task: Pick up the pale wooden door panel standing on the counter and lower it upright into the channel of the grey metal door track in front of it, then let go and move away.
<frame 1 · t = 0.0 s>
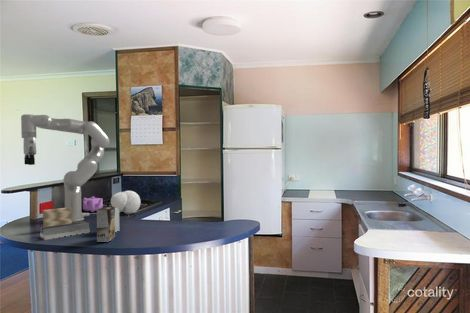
hand: (29, 164, 198), 37 cm above the countertop, tool pointing down, fingers open, 9 cm apart
coffee box: (106, 240, 166), on the countertop
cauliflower: (126, 214, 234), on the countertop
door panel: (57, 230, 188), on the countertop
door track: (65, 234, 178), on the countertop
supplement box: (110, 232, 182), on the countertop
purple lumpy block: (93, 211, 246), on the countertop
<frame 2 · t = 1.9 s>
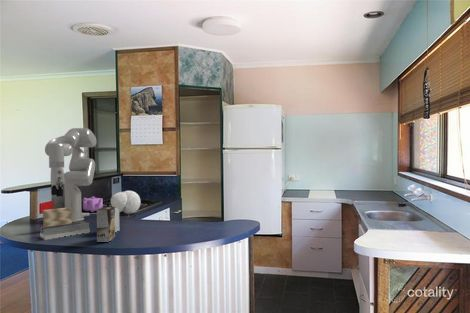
hand: (57, 195, 187), 20 cm above the countertop, tool pointing down, fingers open, 9 cm apart
nothing on the countertop moved.
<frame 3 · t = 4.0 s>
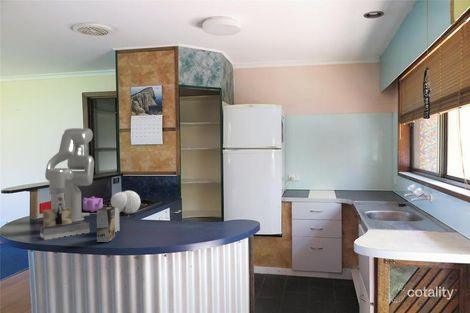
hand: (57, 223, 188), 4 cm above the countertop, tool pointing down, fingers closed on door panel, 3 cm apart
door panel: (57, 230, 188), on the countertop, touching gripper
everything else where it was.
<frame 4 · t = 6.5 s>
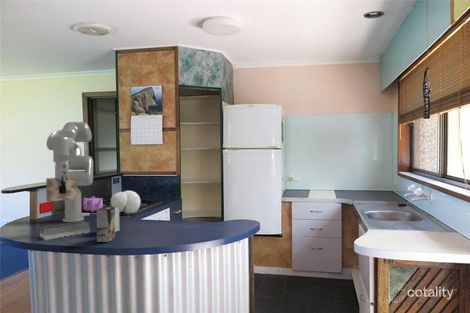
hand: (61, 192, 181), 22 cm above the countertop, tool pointing down, fingers closed on door panel, 3 cm apart
door panel: (61, 199, 181), point 18 cm above the countertop, touching gripper
everything else where it was.
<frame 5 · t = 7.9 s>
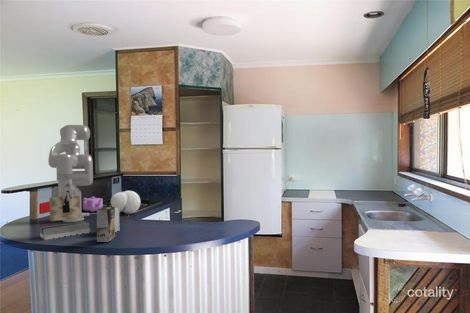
hand: (65, 211, 177), 12 cm above the countertop, tool pointing down, fingers closed on door panel, 3 cm apart
door panel: (65, 219, 177), point 8 cm above the countertop, touching gripper
everything else where it was.
when the fingers open (7 cm above the countertop, at t = 9.2 s): door panel drops 1 cm, resting on door track.
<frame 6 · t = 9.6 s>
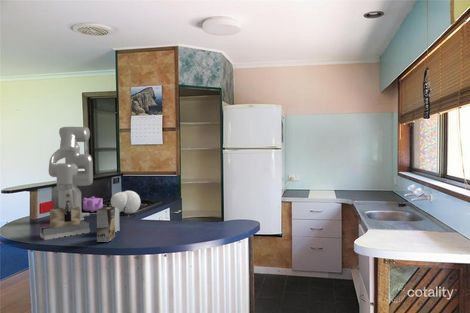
hand: (65, 220, 178), 8 cm above the countertop, tool pointing down, fingers open, 7 cm apart
door panel: (65, 230, 178), point 2 cm above the countertop, touching door track
everything else where it was.
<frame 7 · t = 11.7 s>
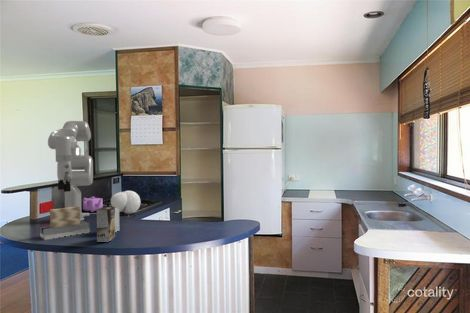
hand: (64, 190, 181), 23 cm above the countertop, tool pointing down, fingers open, 9 cm apart
nothing on the countertop moved.
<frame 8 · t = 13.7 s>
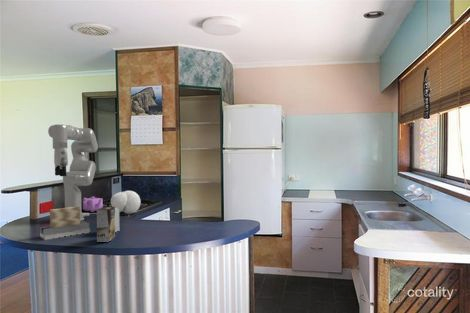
hand: (60, 175, 193), 30 cm above the countertop, tool pointing down, fingers open, 9 cm apart
nothing on the countertop moved.
at the end: door panel inside the target area on the door track (0.2 cm from its centre), point 2.0 cm above the door track's base; door panel tilted 0°; the gripper is holding nothing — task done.
